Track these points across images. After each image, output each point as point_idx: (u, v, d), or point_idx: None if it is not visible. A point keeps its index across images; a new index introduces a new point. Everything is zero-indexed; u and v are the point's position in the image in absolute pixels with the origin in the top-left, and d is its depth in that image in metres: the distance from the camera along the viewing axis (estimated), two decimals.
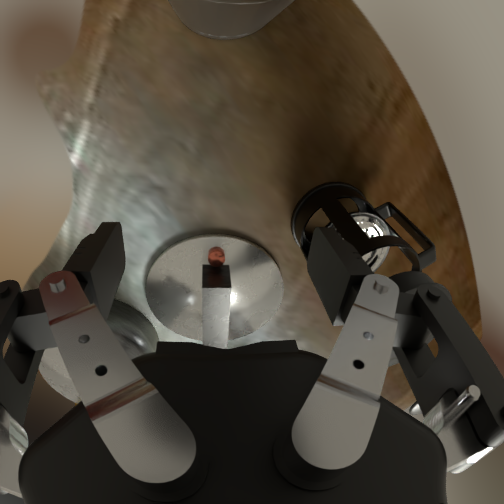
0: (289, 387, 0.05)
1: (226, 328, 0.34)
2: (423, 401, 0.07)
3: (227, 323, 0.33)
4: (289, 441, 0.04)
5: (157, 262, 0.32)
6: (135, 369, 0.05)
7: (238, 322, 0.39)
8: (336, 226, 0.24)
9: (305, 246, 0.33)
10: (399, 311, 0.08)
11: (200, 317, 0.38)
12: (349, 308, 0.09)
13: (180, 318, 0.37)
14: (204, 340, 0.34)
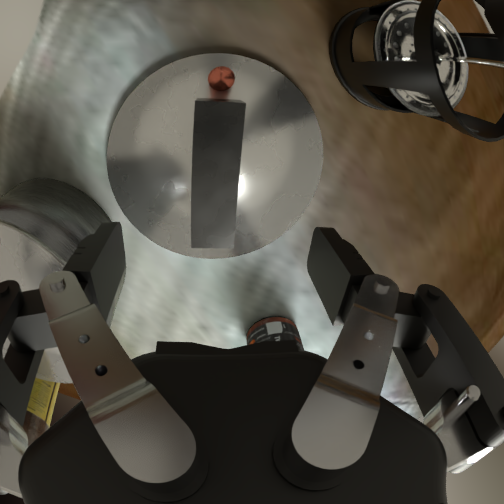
0: (289, 387, 0.05)
1: (233, 197, 0.19)
2: (423, 401, 0.07)
3: (236, 185, 0.19)
4: (289, 441, 0.04)
5: (129, 97, 0.18)
6: (135, 369, 0.05)
7: (252, 219, 0.25)
8: None
9: None
10: (399, 311, 0.08)
11: (190, 205, 0.23)
12: (349, 308, 0.09)
13: (157, 209, 0.23)
14: (193, 227, 0.20)
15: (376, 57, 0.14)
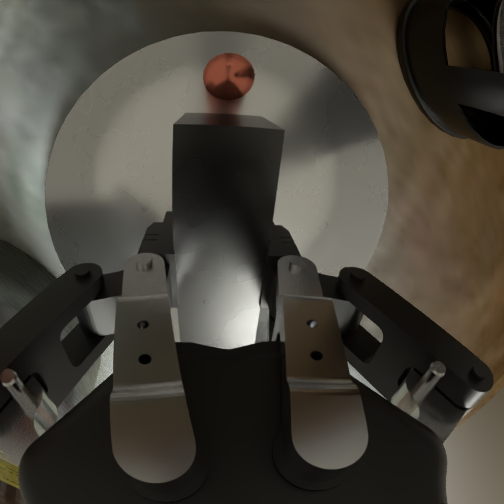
0: None
1: (252, 306, 0.11)
2: (380, 384, 0.08)
3: (258, 287, 0.10)
4: (289, 441, 0.04)
5: (69, 116, 0.10)
6: (177, 369, 0.05)
7: None
8: None
9: None
10: None
11: None
12: (270, 290, 0.10)
13: None
14: None
15: (498, 65, 0.06)
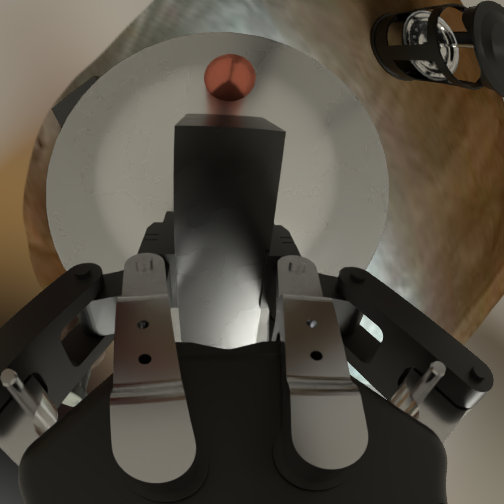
0: None
1: (253, 307, 0.11)
2: (380, 384, 0.08)
3: (259, 288, 0.10)
4: (289, 441, 0.04)
5: (70, 117, 0.10)
6: (177, 369, 0.05)
7: None
8: None
9: None
10: None
11: None
12: (270, 289, 0.10)
13: None
14: None
15: (403, 43, 0.21)
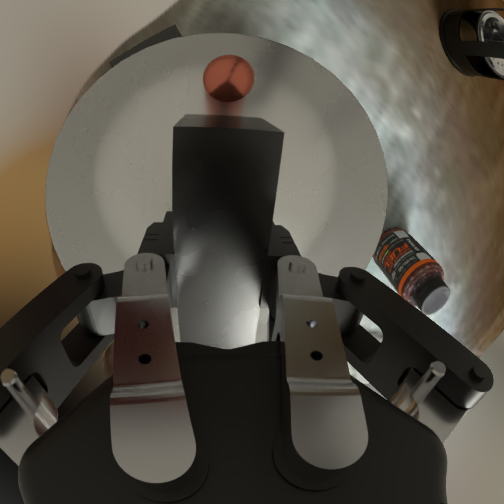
0: None
1: (252, 307, 0.11)
2: (380, 384, 0.08)
3: (258, 289, 0.10)
4: (289, 441, 0.04)
5: (70, 118, 0.10)
6: (177, 370, 0.05)
7: None
8: (491, 9, 0.13)
9: (452, 55, 0.22)
10: None
11: None
12: (270, 289, 0.10)
13: None
14: None
15: (478, 39, 0.17)
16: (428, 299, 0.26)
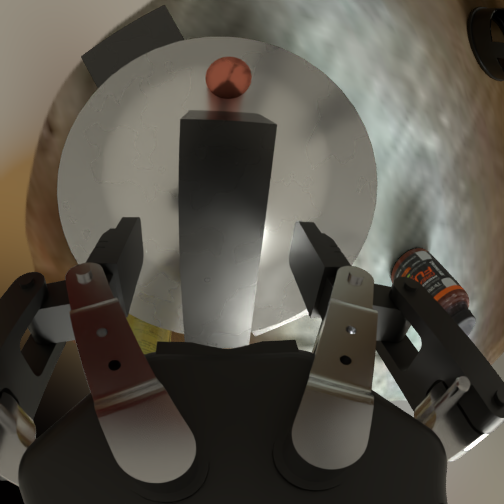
0: (289, 387, 0.05)
1: (249, 284, 0.12)
2: (410, 394, 0.07)
3: (255, 266, 0.11)
4: (289, 441, 0.04)
5: (82, 112, 0.11)
6: (148, 368, 0.05)
7: (271, 289, 0.17)
8: None
9: (481, 57, 0.18)
10: (374, 303, 0.08)
11: None
12: (325, 300, 0.10)
13: None
14: (188, 324, 0.13)
15: None
16: None
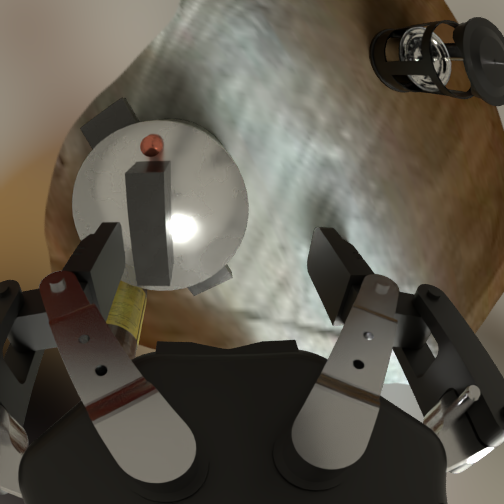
0: (289, 387, 0.05)
1: (163, 247, 0.23)
2: (423, 401, 0.07)
3: (164, 237, 0.23)
4: (289, 441, 0.04)
5: (84, 163, 0.22)
6: (135, 369, 0.05)
7: (191, 258, 0.29)
8: (414, 26, 0.21)
9: None
10: (399, 311, 0.08)
11: None
12: (349, 308, 0.09)
13: None
14: (137, 270, 0.24)
15: (400, 59, 0.25)
16: None
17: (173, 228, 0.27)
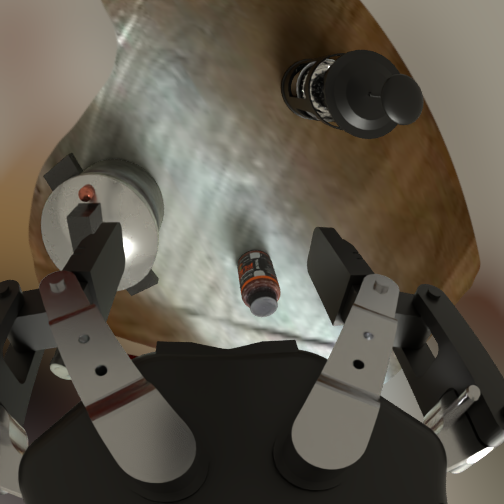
0: (289, 387, 0.05)
1: None
2: (423, 401, 0.07)
3: None
4: (289, 441, 0.04)
5: (46, 203, 0.31)
6: (135, 369, 0.05)
7: None
8: (311, 61, 0.29)
9: (293, 107, 0.38)
10: (399, 311, 0.08)
11: None
12: (349, 308, 0.09)
13: None
14: None
15: (298, 95, 0.32)
16: (253, 305, 0.42)
17: None
